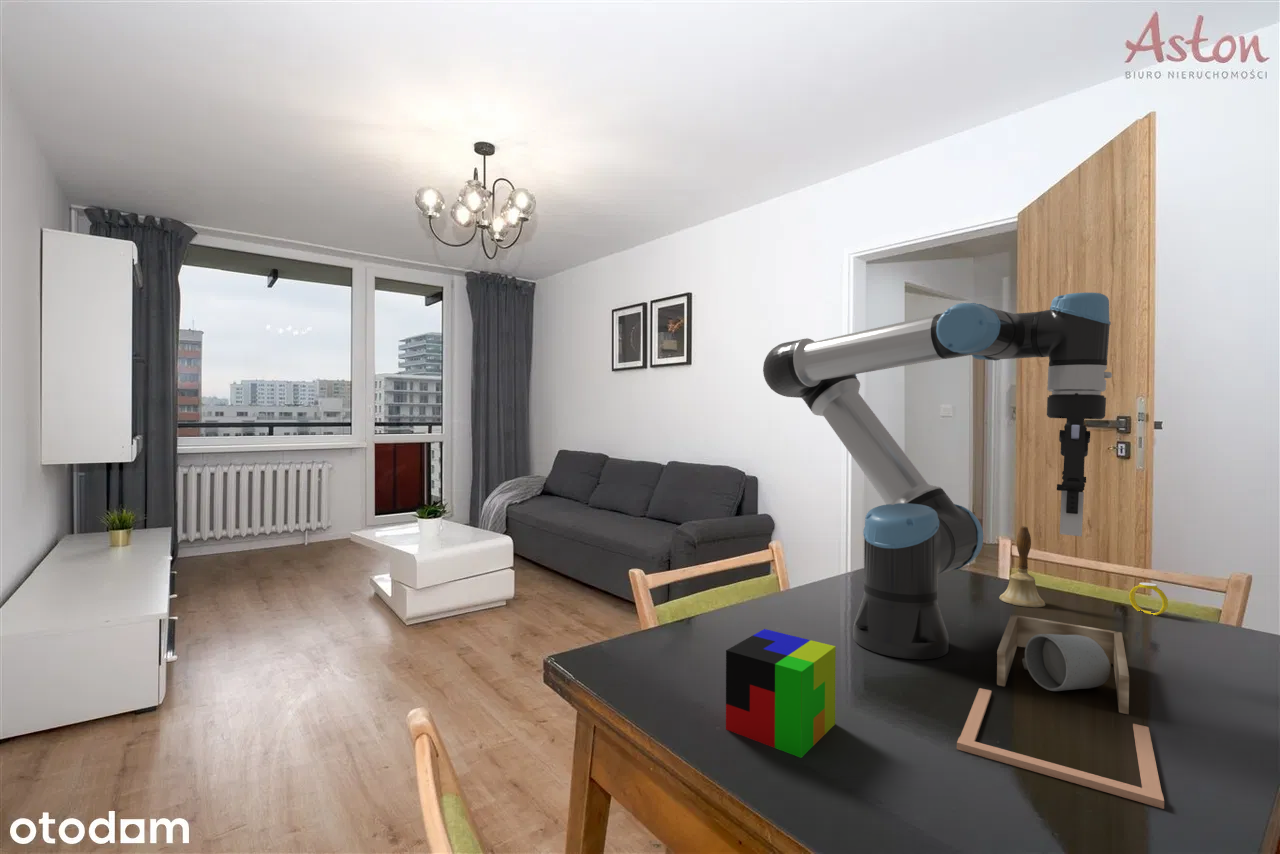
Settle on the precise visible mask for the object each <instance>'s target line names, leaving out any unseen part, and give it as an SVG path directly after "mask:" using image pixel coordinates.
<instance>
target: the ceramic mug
mask: <svg viewBox="0 0 1280 854" xmlns="http://www.w3.org/2000/svg"><path fill="white" fill-rule="evenodd" d="M1021 661H1022V665H1023V669H1024V670H1027V671H1028V672H1029V675H1030V677H1031V678H1032V679H1033V681H1034V682H1036V683H1037V685H1039V686H1040V687H1041V688H1043V689H1045V690H1047V691H1051V692H1061V691H1073V690H1084V689H1085V690H1086V689H1094V688H1097V687H1100V686H1102V685H1104V684H1105V683H1106V682H1108V680H1109V678H1110V677H1111V676H1110V675H1111V673H1112V672H1111V671H1112V664H1110V660H1109V657H1108V655H1107V653H1106V651H1105V650H1104V648H1103V647H1102V646H1101V645H1100V644H1099V643H1097V642H1096V641H1095V640H1093V639H1091V638H1088V637H1085V636H1080V635H1058V634H1038V635H1035V636H1033V637H1032V638H1030V639H1029V641H1028V642H1027V644H1026V647H1024V657H1023V658H1022V659H1021Z"/></svg>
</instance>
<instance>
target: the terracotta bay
mask: <svg viewBox="0 0 1280 854" xmlns="http://www.w3.org/2000/svg"><path fill="white" fill-rule="evenodd" d="M992 692H993V691H992V690H990V689H985V688H981V687H980V688H978V691H977V693H976V696H975V697H974V701H973V704H972V705H971V709H970V711H969V713H968V716H967V719H966V721H965V723H964V726H963V728H962V731H961V734H960V736H959V737H958V738H957V741H956V750H959V751H962V752H966V753H969V754H972V755H976V756H979V757H983V758H985V759H989V760H992V761H997V762H1000V763H1004V764H1006V765H1010V766H1013V767H1017V768H1021V769H1024V770H1027V771H1032V772H1034V773H1038V774H1041V775H1045V776H1048V777H1052V778H1056V779H1060V780H1062V781H1065V782H1069V783H1072V784H1077V785H1080V786H1083V787H1087V788H1091V789H1093V790H1096V791H1100V792H1104V793H1108V794H1109V795H1110V794H1111V795H1114V796H1117V797H1122V798H1124V799H1127V800H1132V801H1136V802H1139V803H1143V804H1145V805H1148V806H1152V807H1155V808H1160V809H1161V810H1162V809H1163V810H1164V809H1165V799H1164V794H1163V792H1162V788H1161V783H1160V777H1159V773H1158V768H1157V767H1158V766H1157V763H1156V756H1155V752H1154V749H1153V747H1154V746H1153V743H1152V738H1151V732H1150V727H1149V726H1144V725H1140V724H1137V723H1132V729H1133V736H1134V737H1133V738H1134V742H1135V743H1134V744H1135V750H1136V755H1137V762H1138V763H1137V764H1138V769H1139V775H1140V782H1141V784H1140V785H1141V787H1140V786H1137V785H1133V784H1129V783H1125V782H1122V781H1119V780H1115V779H1112V778H1108V777H1104V776H1100V775H1097V774H1093V773H1090V772H1086V771H1083V770H1079V769H1076V768H1073V767H1068V766H1066V765H1065V766H1064V765H1061V764H1058V763H1054V762H1050V761H1047V760H1043V759H1039V758H1035V757H1032V756H1029V755H1025V754H1022V753H1018V752H1014V751H1012V750H1011V751H1010V750H1007V749H1003V748H1000V747H997V746H994V745H993V746H992V745H989V744H985V743H981V742H978V741H976V740H977V737H978V735H979V731H980V729H981V726H982V723H983V720H984V716H985V714H986V711H987V708H988V706H989V703H990V699H991V698H992Z"/></svg>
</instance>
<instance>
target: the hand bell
mask: <svg viewBox="0 0 1280 854" xmlns="http://www.w3.org/2000/svg"><path fill="white" fill-rule="evenodd" d="M1031 545H1032V538H1031V535H1030V532H1029V527H1028V526H1023V525H1021V526H1020V529H1019V530H1018V534H1017V536H1016V549H1017V553H1018V566H1017V572H1015V573H1011V574H1010V577H1009V582H1008V585H1007V588H1006V590H1005V591H1004V592H1003V593H1002V594H1000V596H999V597H998V598H999V600H1000V601H1001V602H1004V603H1007V604H1010V605H1013V606H1019V607H1023V608H1025V607H1026V608H1042V607H1046V602H1045V601H1044V599H1042V598H1041V596H1040V595H1039V593H1038V590H1037V585H1036V579H1035V577H1034V576H1032V575H1031V574H1029V573H1028V569H1029V566H1028V565H1029V564H1028V557H1029V554H1030V551H1031Z"/></svg>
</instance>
